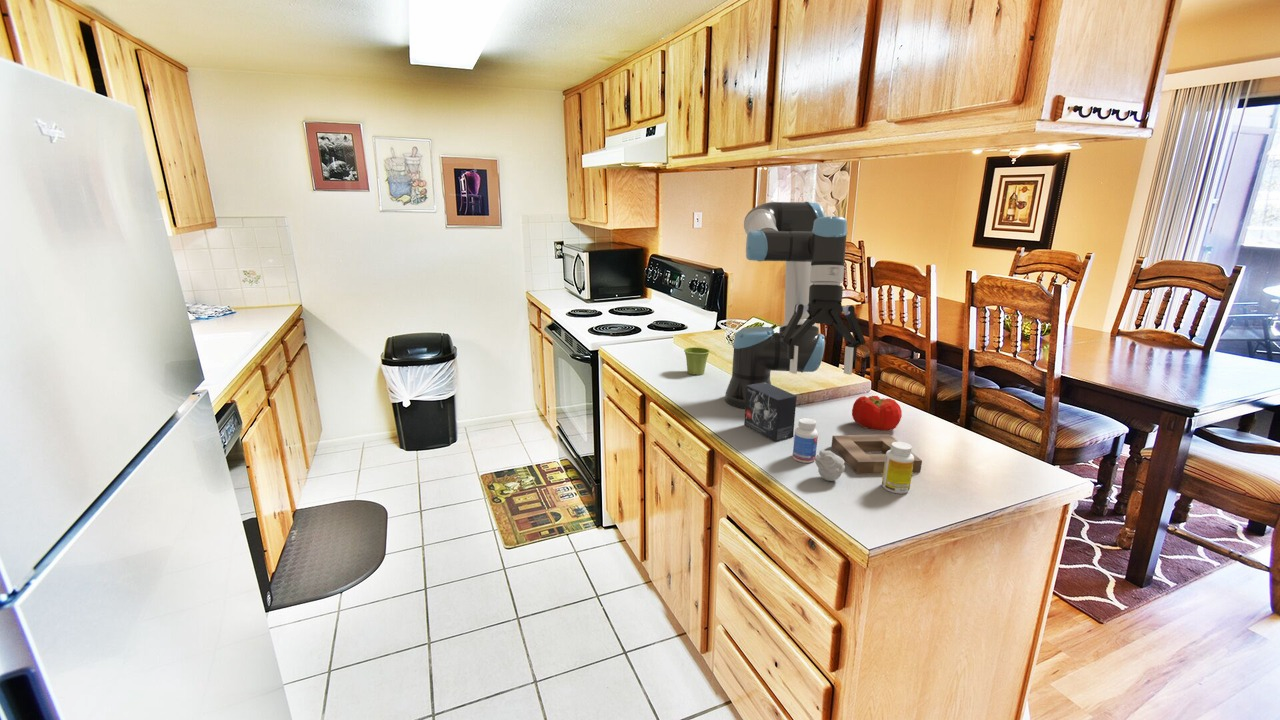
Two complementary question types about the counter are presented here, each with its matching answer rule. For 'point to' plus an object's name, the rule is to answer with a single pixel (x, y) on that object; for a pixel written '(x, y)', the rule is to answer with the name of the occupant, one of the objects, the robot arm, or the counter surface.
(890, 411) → the tomato
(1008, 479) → the counter surface
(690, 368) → the plant pot
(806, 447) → the pill bottle
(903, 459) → the supplement bottle
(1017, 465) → the counter surface
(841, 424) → the counter surface
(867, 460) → the walnut holder block
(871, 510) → the counter surface
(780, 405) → the small box
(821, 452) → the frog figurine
